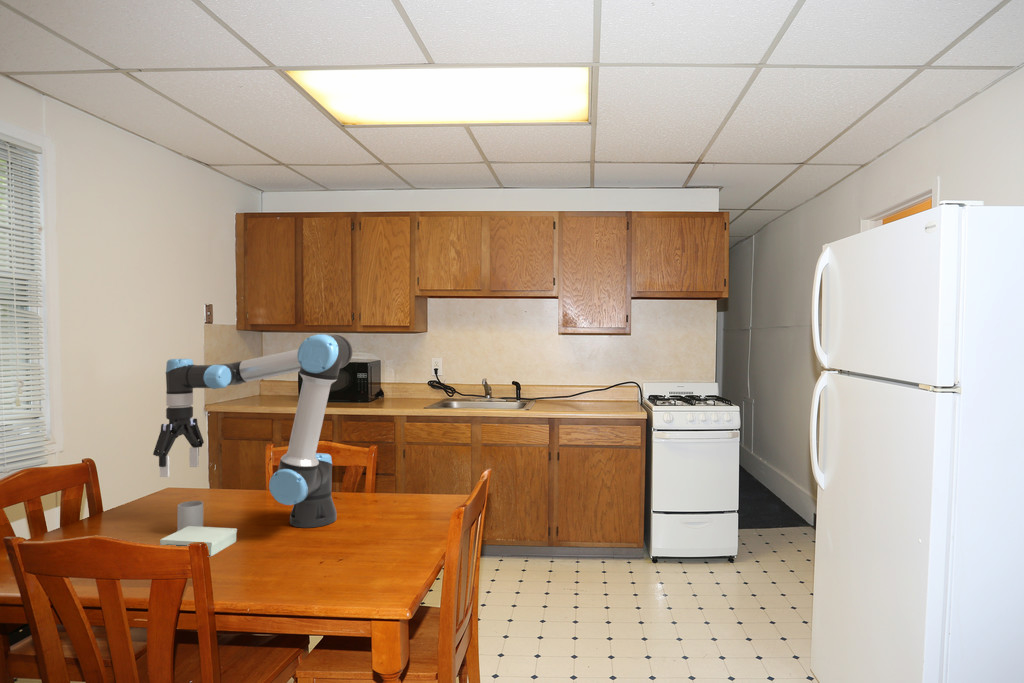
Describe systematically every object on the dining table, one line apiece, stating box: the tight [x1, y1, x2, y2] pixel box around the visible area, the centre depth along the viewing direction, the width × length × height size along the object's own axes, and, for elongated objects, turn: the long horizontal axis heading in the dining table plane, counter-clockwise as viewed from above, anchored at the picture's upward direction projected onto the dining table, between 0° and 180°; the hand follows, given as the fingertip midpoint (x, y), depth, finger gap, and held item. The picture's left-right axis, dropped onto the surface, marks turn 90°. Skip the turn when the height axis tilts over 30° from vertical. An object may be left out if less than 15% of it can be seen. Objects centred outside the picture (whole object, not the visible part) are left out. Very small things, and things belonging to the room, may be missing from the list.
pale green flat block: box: [159, 526, 238, 557], centre depth 169 cm, size 16×12×4 cm
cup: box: [176, 500, 204, 532], centre depth 183 cm, size 7×10×9 cm
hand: (179, 471), depth 184 cm, fingers open, 13 cm apart
